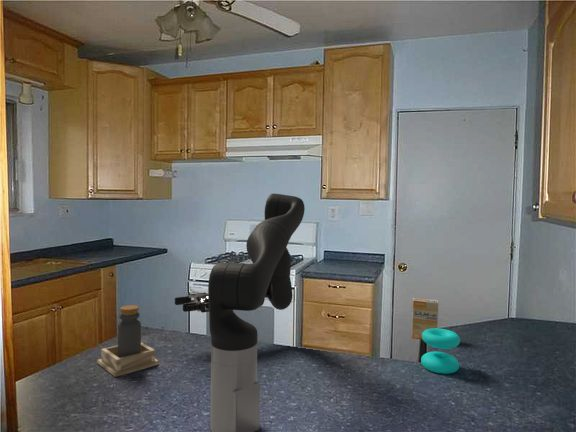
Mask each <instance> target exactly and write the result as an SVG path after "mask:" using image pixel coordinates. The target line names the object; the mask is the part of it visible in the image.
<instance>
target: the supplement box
mask: <svg viewBox="0 0 576 432" xmlns="http://www.w3.org/2000/svg"><path fill="white" fill-rule="evenodd" d="M411 308H412V312H411V314H412V315H411V339H413V340H422V341H423V339H422V333H423V332H424V331H425V330H427V329H431V328H438V325H439V323H438V321H439V300H438V299H430V298H429V299H428V298H419V297H412V307H411Z"/></svg>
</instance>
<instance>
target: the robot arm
mask: <svg viewBox="0 0 576 432" xmlns="http://www.w3.org/2000/svg"><path fill="white" fill-rule="evenodd" d="M304 215H305V203H304V201H303V199H302V198H300V197H298V196H294V195H288V194H281V193H270V195H268V197H267V199H266V200H265V206H264V220H262V221H260V222H259V223H258V224H257V225H256V226H255V227H254V228H253V230H252V232H251V233H250V234H249V235H248V238H247V241H246V251H247V252H246V253H247V254H248V257H249V259H250V261H251V262H252V263H245V262H217V263H216V264H214V265H213V266H212V268H211V271H210V273H209V278H208V286H207V288H208V289H207V292H197V293H196V292H195V293H187V295H186V296H177V297H175V298H174V305H175V306H180V305H182V311H183V313H185V312H194V311H197V312H200V313H202V314H203V313H208V314H209V315H208V316H209V321H208V322H209V332H210V342H211V343H210V344H211V345H210V430H211V432H257V431H259V430H260V411H261V410H260V408H261V404H260V403H261V400H260V398H261V396H260V394H261V384H260V382H258V335H259V334H258V330H257V328H256V327H255V326H254V324H251V323H250V322H248V321H246V320H243V319H242V318H240V317H239V316H238V315H237V314H236V312H238V311H243V312H244V311H245V312H248V311H256V310H258V309H259V308H261V307H262V306H263V305H264V303H265V299H268V301H269V303H270V304H271V305H272V307H274V309H276V310H280V311H283V310H285V309H288V307H289V306H290V305H291V304H292V302H293V301H292V300H293V288H292V287H293V286H292V280H291V267H292V259H291V254H290V252H289V249H288V248H287V247H288V244H289V242H290V241H291V238H292V236H293V235H294V233H295V232H296V230H297V229H298V227H299V226H300V225H301V223H302V221H303V219H304Z"/></svg>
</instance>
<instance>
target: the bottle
mask: <svg viewBox="0 0 576 432" xmlns="http://www.w3.org/2000/svg"><path fill="white" fill-rule="evenodd" d="M139 308H140V307H139V306H138V305H135V304H134V305H133V304H130V305H124V306H121V307H120V308H119V309H120V314H119V317H118V318H119V320H121V321H120V322H119V323H118V324H117V345H118V357H119V358H121V357H125V356H129V355H132V354H136V353H140V352H141V342H142V323H141V321H140V320H138V318H140V312H139Z"/></svg>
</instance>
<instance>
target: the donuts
mask: <svg viewBox="0 0 576 432" xmlns="http://www.w3.org/2000/svg"><path fill="white" fill-rule="evenodd" d="M422 339H423V340H422V341H423V342H424V343H426V345H428V346H430V347H431V348H432V347H433V348H436V349H442V350H450V349H454V348H456V347H458V346H459V345H460V343H461V337H460V336H459V335H458V334H457V333H456V332H455V331H452V330H449V329H446V328H439V327H437V328H431V329H427V330H425V331H424V332H423V333H422ZM420 362H421V365H422V367H424V368H425V369H426V370H428V371H430V372H432V373H437V374H441V373H442V374H443V375H444V374H445V375H447V374H454V373H456V372H457V371H458V370H459V368H460V363H459V360H458V359H457V358H456V357H455V356H453V355H452V354H449V353H447V352H443V351H429V352H426V353H423V355H422V356H421V358H420Z"/></svg>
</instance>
